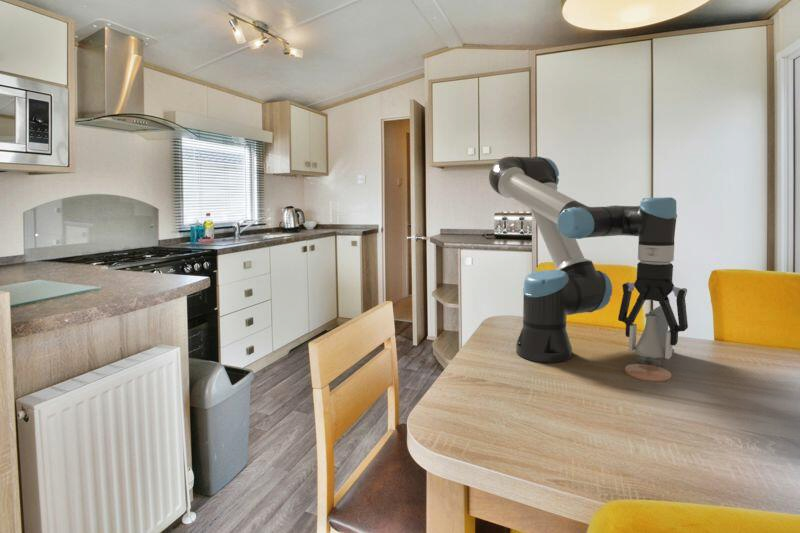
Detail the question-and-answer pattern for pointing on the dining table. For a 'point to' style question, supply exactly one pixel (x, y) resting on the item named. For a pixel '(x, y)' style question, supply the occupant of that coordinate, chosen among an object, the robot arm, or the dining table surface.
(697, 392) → the dining table surface
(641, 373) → the coaster
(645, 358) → the screen
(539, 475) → the dining table surface
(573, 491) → the dining table surface
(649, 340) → the flask
